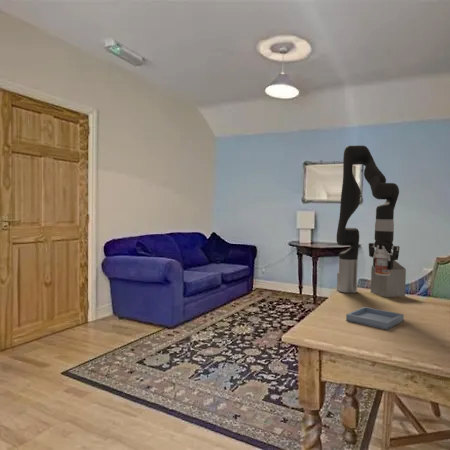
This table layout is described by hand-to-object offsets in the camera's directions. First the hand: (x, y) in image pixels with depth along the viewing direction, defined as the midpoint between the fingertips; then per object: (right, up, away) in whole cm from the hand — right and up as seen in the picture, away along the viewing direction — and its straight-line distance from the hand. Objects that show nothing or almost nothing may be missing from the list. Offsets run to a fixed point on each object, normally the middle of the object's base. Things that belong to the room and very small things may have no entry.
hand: (382, 268), depth 167 cm
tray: (-9, -19, -15) cm, 26 cm away
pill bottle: (0, -3, 0) cm, 3 cm away
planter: (+13, -17, +27) cm, 35 cm away
